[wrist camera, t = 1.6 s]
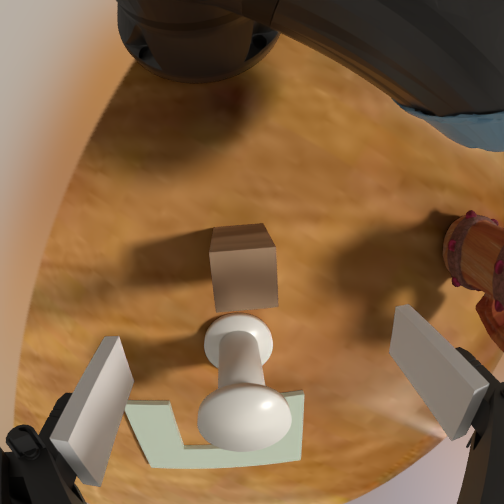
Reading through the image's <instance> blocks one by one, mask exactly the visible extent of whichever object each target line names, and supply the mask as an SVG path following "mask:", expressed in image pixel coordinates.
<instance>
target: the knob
mask: <svg viewBox="0 0 504 504" xmlns="http://www.w3.org/2000/svg"><path fill="white" fill-rule="evenodd" d="M272 348H273V341H272V337H271V333H270V330H269V328H268V327H267V325H266V324H265V323H264V322H263V321H262V320H261V319H259V318H258V317H256V316H254V315H251V314H247V313H230V314H226V315H224V316H221V317H220V318H218V319H216V320H215V321H214V322H213V323H212V324H211V325H210V326H209V328H208V330H207V332H206V335H205V342H204V350H205V353H206V356H207V358H208V359H209V361H210V362H211V363H212V364H213V365H214V366H215V367H217V368H218V389H217V390H215V391H213V392H212V393H210V394H209V395H208V396H207V397H206V398H205V399H204V400H203V401H202V403H201V405H200V407H199V411H198V429H199V432H200V433H201V435H202V436H203V437H204V439H206V440H207V441H208V442H209V443H211V444H212V445H214V446H216V447H219V448H221V449H224V450H228V451H235V452H250V451H256V450H261V449H264V448H267V447H269V446H271V445H273V444H275V443H277V442H278V441H280V440H281V439H282V438H283V437H284V436H285V435H286V434H287V432H288V431H289V429H290V426H291V422H292V417H291V412H290V408H289V405H288V402H287V401H286V399H285V398H284V396H283V395H281V394H280V393H279V392H278V391H276V390H274V389H272V388H270V387H267V386H265V381H264V375H263V370H262V365H263V364H264V363H265V362H266V361H267V360H268V358H269V357H270V355H271V352H272Z"/></svg>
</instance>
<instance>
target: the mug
mask: <svg viewBox="0 0 504 504" xmlns="http://www.w3.org/2000/svg"><path fill="white" fill-rule="evenodd" d="M443 258H444V262H445V265H446V268H447V269H448V271H449V272H450V274H451V276H452V284H453V285H454V286H455V287H459V286H460V285H461V286H463V287H465V288H467V289H470V290H477V291H483V292H485V294H484V296H483V297H482V299H481V300H480V301H479V302H478V303H477V305H476V311H477V312H478V314H479V316H480V318H481V321H482V322H483V324H484V326H485V328H486V330H487V332H488V334H489V335H490V337H491V338H492V340H493V341H494V342H495V343H496V344H497V346H498V347H499V348H500V349H501V350H502V351H503V352H504V228H502V227H500V226H498V221H497V220H495V219H489V218H488V217H485V216H480V215H476V213H475V212H474V211H472V210H470V211H468V212H467V213H466V215H464V216H461V217H460V218H459V219H457V220H456V221H454V222H453V223H452V224H451V226H450V227H449V229H448V231H447V232H446V236H445V238H444V244H443Z"/></svg>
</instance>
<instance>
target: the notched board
mask: <svg viewBox="0 0 504 504" xmlns="http://www.w3.org/2000/svg"><path fill="white" fill-rule="evenodd" d="M280 394H281V395H283V396H284V398H285V399H286V401H287V402H288V405H289V408H290V412H291V417H292V422H291V426H290V429H289V431H288V432H287V434H286V435H285V436H284V437H283V438H282V439H281V440H280V441H278V442H277V443H275V444H273V445H271V446H269V447H267V448H264V449H261V450H256V451H250V452H235V451H228V450H224V449H221V448H219V447H216V446H214V445H184V444H183V441H182V438H181V435H180V432H179V429H178V426H177V423H176V420H175V417H174V414H173V411H172V407H171V404H170V401H142V400H128V401H127V404H126V407H125V412H126V414H127V417H128V419H129V421H130V424H131V426H132V428H133V430H134V432H135V435H136V437H137V439H138V441H139V443H140V445H141V447H142V450H143V452H144V454H145V456H146V458H147V460H148V462H149V464H150V466H151V467H152V468H179V469H201V468H229V467H244V466H256V465H266V464H274V463H282V462H289V461H296V460H301V447H302V431H303V412H304V392H303V390H300V391H293V392H285V393H280Z"/></svg>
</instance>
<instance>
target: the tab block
mask: <svg viewBox="0 0 504 504" xmlns="http://www.w3.org/2000/svg"><path fill="white" fill-rule="evenodd" d="M209 257H210V266H211V275H212V283H213V292H214V300H215V308H216V313H217V312H229V311H241V310H252V309H262V308H273V307H278V284H277V260H276V246H275V244H274V243H273V241H272V239H271V237H270V235H269V233H268V232H267V230H266V228H265V226H264V224H263V223H260V224H248V225H236V226H224V227H214V228H213V233H212V239H211V244H210V250H209Z"/></svg>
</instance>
